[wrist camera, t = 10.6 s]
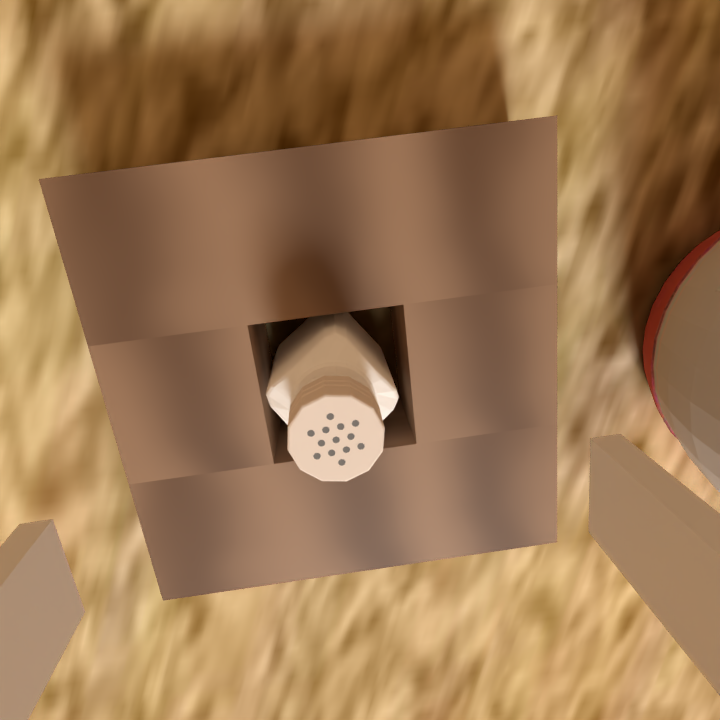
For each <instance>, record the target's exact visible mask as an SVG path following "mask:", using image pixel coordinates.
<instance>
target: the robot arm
mask: <svg viewBox="0 0 720 720" xmlns="http://www.w3.org/2000/svg"><path fill="white" fill-rule="evenodd" d="M589 533H590V534H591V535H592V537H593V538H594V539H595V540H596V542H597V543H598V544H599V545H600V547H601V548H602V549H603V550H604V552H605V553H606V554H607V555H608V557H609V558H610V559H611V560H612V562H613V563H614V564H615V565H616V567H617V568H618V569H619V570H620V572H621V573H622V574H623V575H624V577H625V578H626V579H627V580H628V582H629V583H630V584H631V585H632V587H633V588H634V589H635V590H636V592H637V593H638V594H639V595H640V597H641V598H642V599H643V600H644V602H645V603H646V604H647V605H648V607H649V608H650V609H651V610H652V612H653V613H654V614H655V615H656V617H657V618H658V619H659V620H660V622H661V623H662V624H663V625H664V627H665V628H666V629H667V630H668V632H669V633H670V634H671V635H672V637H673V638H674V639H675V640H676V642H677V643H678V644H679V645H680V647H681V648H682V649H683V650H684V652H685V653H686V654H687V655H688V657H689V658H690V659H691V660H692V662H693V663H694V664H695V665H696V667H697V668H698V669H699V670H700V672H701V673H702V674H703V675H704V677H705V678H706V679H707V680H708V682H709V683H710V684H711V685H712V687H713V688H714V689H715V690H716V692H717V693H718V694H719V695H720V514H719V513H718V512H717V511H716V510H714V509H713V508H712V507H711V506H709V505H708V504H707V503H706V502H704V501H703V500H702V499H701V498H699V497H698V496H697V495H696V494H694V493H693V492H692V491H691V490H689V489H688V488H687V487H686V486H685V485H683V484H682V483H681V482H680V481H678V480H677V479H676V478H675V477H673V476H672V475H671V474H670V473H668V472H667V471H666V470H665V469H663V468H662V467H661V466H660V465H658V464H657V463H656V462H655V461H653V460H652V459H651V458H650V457H648V456H647V455H646V454H645V453H644V452H642V451H641V450H640V449H639V448H637V447H636V446H635V445H634V444H632V443H631V442H630V441H629V440H627V439H626V438H625V437H624V436H622V435H621V434H616V435H609V436H603V437H596V438H590V486H589ZM84 613H85V610H84V607H83V604H82V602H81V599H80V596H79V593H78V590H77V587H76V584H75V582H74V579H73V576H72V573H71V570H70V567H69V564H68V562H67V559H66V556H65V553H64V550H63V547H62V545H61V542H60V539H59V536H58V533H57V530H56V527H55V525H54V522H53V519H50V520H44V521H37V522H30V523H24V524H19V525H18V527H17V528H16V529H15V530H14V531H13V532H12V534H11V535H10V536H9V537H8V538H7V539H6V541H5V542H4V543H3V544H2V545H1V547H0V720H28V719H29V717H30V715H31V713H32V711H33V709H34V708H35V706H36V704H37V702H38V700H39V698H40V696H41V694H42V692H43V691H44V689H45V687H46V685H47V683H48V681H49V679H50V677H51V675H52V673H53V672H54V670H55V668H56V666H57V664H58V662H59V660H60V658H61V656H62V654H63V653H64V651H65V649H66V647H67V645H68V643H69V641H70V639H71V637H72V635H73V634H74V632H75V630H76V628H77V626H78V624H79V622H80V620H81V618H82V617H83V615H84Z"/></svg>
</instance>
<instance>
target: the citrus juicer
mask: <svg viewBox="0 0 720 720" xmlns="http://www.w3.org/2000/svg"><path fill="white" fill-rule="evenodd" d="M643 360H644V371H645V374H646V377H647V381H648V384H649V387H650V390H651V393H652V396H653V399H654V402H655V404H656V406H657V409H658V411H659V413H660V415H661V417H662V418H663V420H664V422H665V423H666V425H667V427H668V428H669V430H670V432H671V433H672V434H673V435H674V436H675V437H676V438H677V439H678V440H679V442H680V443H681V445H682V446H683V448H684V450H685V451H686V453H687V454H688V456H689V458H690V459H691V460H692V461H693V462H694V464H695V465H696V466H697V467H698V468H699V470H700V471H701V472H702V473H703V474H704V475H705V477H706V478H707V479H708V480H709V481H710V482H711V484H712V485H713V486H714V487H715V488H716V489H717V490H718V491H719V492H720V230H719V231H718V232H716V233H715V234H713V235H712V236H710V237H709V238H707V239H706V240H704V241H703V242H702V243H700V244H699V245H698V246H697V247H695V248H694V249H693V250H692V251H691V252H690V253H689V254H688V255H687V256H686V257H685V258H684V259H683V260H682V261H681V262H680V263H679V264H678V266H677V267H676V268H675V270H674V271H673V272H672V273H671V275H670V276H669V277H668V279H667V280H666V281H665V283H664V285H663V286H662V288H661V290H660V292H659V294H658V296H657V298H656V300H655V302H654V304H653V306H652V309H651V312H650V315H649V318H648V321H647V324H646V328H645V335H644V343H643Z"/></svg>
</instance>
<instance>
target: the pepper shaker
mask: <svg viewBox="0 0 720 720" xmlns="http://www.w3.org/2000/svg"><path fill="white" fill-rule="evenodd" d="M266 396H267V399H268V402H269V404H270V406H271V408H272V409H273V410H274V411H275V412H276V413H277V414H278V415H279V416H280V417H281V418H282V420H283V421H284V422H285V423H286V424H287V425H288V437H287V450H288V451H289V453H290V455H291V456H292V458H293V459H294V461H295V463H296V464H297V466H298V467H299V469H300V470H302V471H303V472H305V473H307V474H309V475H311V476H313V477H315V478H317V479H319V480H321V481H348V480H351V479H353V478H355V477H357V476H359V475H361V474H363V473H365V472H367V471H369V470H370V468H371V467H372V466H373V464H374V463H375V461H376V460H377V459H378V457H379V456H380V455H381V453H382V452H383V446H384V432H385V427H384V423H383V420H384V419H385V418H386V417H387V416H388V415H389V414H390V413H391V412H392V411H393V410H394V408H395V405H396V403H397V401H398V398H399V395H398V392H397V389H396V387H395V384H394V381H393V379H392V376H391V373H390V370H389V368H388V365H387V362H386V360H385V357H384V354H383V352H382V349H381V347H380V346H379V345H378V344H377V343H376V342H375V341H374V340H373V339H372V337H371V336H370V335H369V334H368V333H367V332H366V331H365V330H364V329H363V328H362V327H361V326H360V325H359V324H358V323H357V322H356V320H355V319H354V318H353V317H352V316H351V315H350V314H349V313H348V312H344V313H336V314H329V315H321V316H314V317H309V318H308V319H307V320H306V321H305V322H304V323H303V324H301V325H300V326H299V327H298V328H297V329H296V330H295V331H294V332H293V333H292V334H291V335H289V336H288V337H287V338H286V339H285V340H284V341H283V342H282V343H281V344H280V345H279V347H278V349H277V351H276V354H275V358H274V362H273V366H272V370H271V374H270V379H269V383H268V387H267V391H266Z"/></svg>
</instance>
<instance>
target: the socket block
mask: <svg viewBox="0 0 720 720" xmlns="http://www.w3.org/2000/svg"><path fill="white" fill-rule="evenodd" d="M39 182H40V185H41V188H42V192H43V195H44V198H45V202H46V205H47V209H48V212H49V215H50V219H51V222H52V226H53V229H54V232H55V236H56V239H57V243H58V246H59V249H60V253H61V256H62V260H63V263H64V266H65V270H66V273H67V276H68V280H69V283H70V287H71V290H72V293H73V297H74V300H75V304H76V307H77V310H78V314H79V317H80V321H81V324H82V327H83V331H84V334H85V337H86V341H87V344H88V348H89V351H90V354H91V358H92V361H93V365H94V368H95V371H96V375H97V378H98V382H99V385H100V388H101V392H102V395H103V399H104V402H105V405H106V409H107V412H108V415H109V419H110V422H111V426H112V429H113V432H114V436H115V439H116V443H117V446H118V449H119V453H120V456H121V460H122V463H123V466H124V470H125V473H126V477H127V480H128V483H129V487H130V490H131V493H132V497H133V500H134V504H135V507H136V510H137V514H138V517H139V521H140V524H141V527H142V531H143V534H144V538H145V541H146V544H147V548H148V551H149V554H150V558H151V561H152V565H153V568H154V571H155V575H156V578H157V582H158V585H159V588H160V592H161V595H162V599H163V600H170V599H177V598H183V597H190V596H197V595H204V594H210V593H217V592H224V591H231V590H237V589H244V588H251V587H258V586H264V585H271V584H278V583H285V582H291V581H298V580H305V579H312V578H318V577H325V576H332V575H339V574H345V573H352V572H359V571H366V570H373V569H379V568H386V567H393V566H400V565H406V564H413V563H420V562H427V561H433V560H440V559H447V558H454V557H460V556H467V555H474V554H481V553H487V552H494V551H501V550H508V549H514V548H521V547H528V546H535V545H541V544H548V543H555V542H557V116H550V117H542V118H534V119H525V120H517V121H509V122H501V123H493V124H485V125H477V126H468V127H460V128H452V129H444V130H436V131H428V132H420V133H411V134H403V135H395V136H387V137H379V138H371V139H363V140H354V141H346V142H338V143H330V144H322V145H314V146H306V147H297V148H289V149H281V150H273V151H265V152H257V153H249V154H240V155H232V156H224V157H216V158H208V159H200V160H192V161H183V162H175V163H167V164H159V165H151V166H143V167H135V168H126V169H118V170H110V171H102V172H94V173H86V174H78V175H69V176H61V177H53V178H45V179H39ZM389 306H390V308H391V318H392V328H393V338H394V347H395V357H396V367H397V377H398V387H399V396H400V398H398V401H397V403H396V405H395V408H394V410H393V411H392V412H391V413H390V414H389V415H388V416H387V417H386V418H385V419H384V420H383V423H384V427H385V432H384V446H383V452H382V453H381V455H380V456H379V457H378V459H377V460H376V461H375V463H374V464H373V466H372V467H371V468H370V470H369V471H367V472H365V473H363V474H361V475H359V476H357V477H355V478H353V479H351V480H348V481H321V480H319V479H317V478H315V477H313V476H311V475H309V474H307V473H305V472H303V471H302V470H300V469H299V467H298V466H297V464H296V463H295V461H294V459H293V458H292V456H291V455H290V453H289V451H288V450H287V437H288V425H287V424H286V423H285V422H284V421H283V420H282V418H281V417H280V416H279V415H278V414H277V413H276V412H275V411H274V410H273V409H272V408H271V406H270V404H269V402H268V399H267V396H266V391H267V387H268V383H269V379H270V374H271V370H272V366H273V364H272V358H271V353H270V347H269V342H268V336H267V330H266V325H265V323H268V322H276V321H283V320H291V319H298V318H306V317H314V316H321V315H329V314H336V313H344V312H351V311H359V310H366V309H374V308H381V307H389Z"/></svg>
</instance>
